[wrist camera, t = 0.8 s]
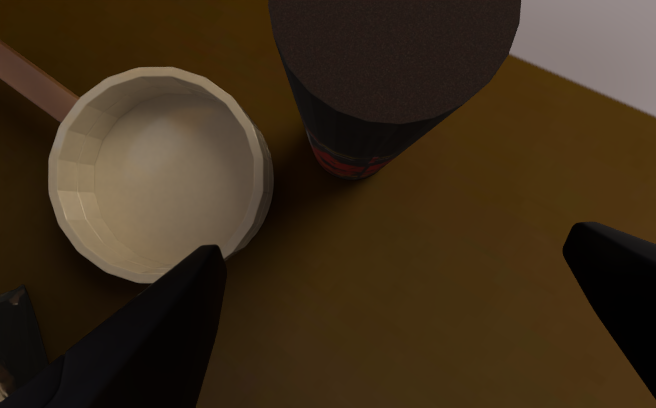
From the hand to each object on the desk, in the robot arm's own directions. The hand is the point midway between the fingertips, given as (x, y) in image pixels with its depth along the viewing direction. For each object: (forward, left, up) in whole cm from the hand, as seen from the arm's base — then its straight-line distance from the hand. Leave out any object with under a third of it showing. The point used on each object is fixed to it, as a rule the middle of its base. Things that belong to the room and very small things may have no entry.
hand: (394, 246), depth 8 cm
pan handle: (-5, +23, -12) cm, 26 cm away
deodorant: (+5, +4, -14) cm, 16 cm away
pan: (-5, +12, -14) cm, 19 cm away
